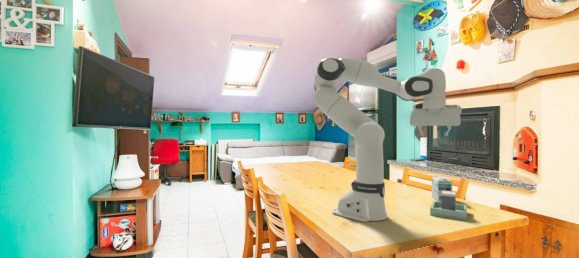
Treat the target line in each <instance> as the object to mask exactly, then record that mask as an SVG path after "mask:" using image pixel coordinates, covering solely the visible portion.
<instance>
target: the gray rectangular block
mask: <svg viewBox="0 0 579 258" xmlns="http://www.w3.org/2000/svg"><path fill="white" fill-rule="evenodd" d="M456 195H457V194H456V192H455V191H452V192H449V191H442V209H446V210H453V211H455V204H456Z"/></svg>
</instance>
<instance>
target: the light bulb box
mask: <svg viewBox="0 0 579 258" xmlns="http://www.w3.org/2000/svg"><path fill="white" fill-rule="evenodd" d="M442 191H449V192H453V180H450V179H449V178H447V177H443V176H441V177H440V176H431V197H432V198H433V199H434V200H435V201H438V202H442Z"/></svg>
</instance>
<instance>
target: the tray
mask: <svg viewBox="0 0 579 258" xmlns="http://www.w3.org/2000/svg"><path fill="white" fill-rule="evenodd" d="M467 210H468V209H467V205H466V204H459V203H455V211H453V210H446V209H442V202H438V201H437V200H432V202H431V205H430V208H429V215H430V216H433V217H441V218H447V219H453V220H459V221H460V220H461V221H465V222H466V221H467V220H468V218H467V217H468V216H467V215H468V212H467Z"/></svg>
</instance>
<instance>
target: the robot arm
mask: <svg viewBox="0 0 579 258" xmlns="http://www.w3.org/2000/svg"><path fill="white" fill-rule="evenodd" d="M316 69H317V70H316V74H315V76H314V77H315V78H314V91H315V92H314V94H313V97H312V98H313V102H314V104H315V105H316V106H317V108H318V109H319V110H320V111H321V112H322V113H323V114H324V115H325V116H326V117H327V118H328V119H330V120H331V121H332V122H333V123H335V124H336V125H337V126H338V127H339V128H341V129H342V130H343V131H344V132H346V133H348V134H349V135H350V136H351V137H353V138H354V141H353V142H354V153H355V163H356V164H355V166H356V167H355V168H356V169H355V171H356V173H355V175H356V176H355V177H356V178H355V179H354V180H353V181H352V182H351V183H350V187H351V189H350V190H348V191H347V192H345V193H344V194H343V195H342V196H340V197H339V199H338V203H337V205H336V206H335V207H333V208H332V214H334V215H337V216H340V217H343V218H348V219H351V220H355V221H359V222H363V223H365V222H366V223H367V222H376V221H383V220H386V219H388V213H387V209H386V205H385V204H386V203H385V195H386V186H385V181H384V177H385V176H384V169H385V168H384V166H385V165H384V163H385V162H384V140H385V130H384V128H383V127H382V126H381V125H380V124H379V123H377V122H376V121H375V120H374V119H372V118H371V117H370V116H369V115H367V114H365V113H364V112H363V111H362V110H361V109H359V108H358V107H357V106H355V105H354V104H353V103H352V102H351V101H349V100H348V99H347V98H346V97H345V96H343V95H342V94H341V93H339V92H338V91H337V87H338V85H339V83H340V82H347V83H350V84H354V85H359V86H363V87H368V88H369V87H371V88H376V89H380V90H382V91H385V92H389V93H392V94H394V95H396V96H397V97H398V98H399V99H400V100H402V101H406V102H411V101H413V100H416V99H418V98H420V97H423V98H422V99H423V101H421V102H419V103H415V104H414V105H412V109H413V110H412V111H411V112H410V116H409V117H410V118H409V125H410V126H412V127H413V126H416V127H417V128H418V129H417V130H419V132H420V136H421V137H424V136H425V135H426V134H425V131H423V130H422V128H423V127H424V126H425V127H426V126H427V127H432V126H433V127H435V126H437V127H442V126H443V127H444V126H445V127H447V131H444V132H443V136H444V137H449V132H450V131H451V130H452V127H458V126H460V125H461V123H462V122H461V114H462V113H463V112H462V111H463V109H462V106H461V105H458V104H447V103H446V102H447V97H446V90H447V84H446V83H447V82H446V74H445V72H444V70H443V69H439V68H427V69H426V70H424V71H423V72H421V73H419V74H416V75H413V76H411V77H408V78H407V79H406V80H398V79H395V78H392V77H388V76H386V75H383V74H382V73H380V71H379V69H378V68H377V66H376V65H375V64H373V63H370V62H368V61H365V60H362V59H358V58H353V57H340V58H333V57H327V58H324V59H321V61H320V62H319V63H318V66H317V68H316Z"/></svg>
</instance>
